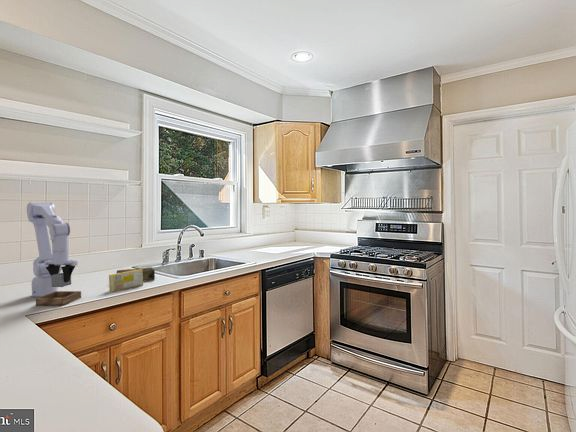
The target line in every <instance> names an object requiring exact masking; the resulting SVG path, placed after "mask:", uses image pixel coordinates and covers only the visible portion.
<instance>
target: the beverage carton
mask: <svg viewBox="0 0 576 432" xmlns="http://www.w3.org/2000/svg"><path fill="white" fill-rule="evenodd" d="M140 269H142V270H143V282H147V281H155V279H156V275H155V272H156V270H155V269H154V267H152V266H151V267H146V268H145V267H144V268H143V267H142V268H130V269H129V268H128V269H127V268H126V269H117V270H116V273H115V274H117V273H123V272H128V271H134V270H140Z"/></svg>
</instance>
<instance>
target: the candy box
mask: <svg viewBox="0 0 576 432" xmlns="http://www.w3.org/2000/svg"><path fill="white" fill-rule="evenodd" d="M139 269H140V270H134V271H128V272H123V273H117V272H116V273H117V274H116V273H111V274H108V284H109V287H108V288H109V292H115V291H120V290H127V289H131V288H135V287H139V286H143V285H144V281H143V270H142V269H141V268H139Z"/></svg>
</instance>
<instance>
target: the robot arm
mask: <svg viewBox="0 0 576 432" xmlns="http://www.w3.org/2000/svg"><path fill="white" fill-rule="evenodd" d="M55 209H56V206H55V204H54V203H53V202H28V203H27V204H26V217H27V220H28V222H30V223H32V224H33V227H34V233H35V237H36V244H37V249H38V255H39V256H38V257H36V258H35V259H34V260H33V261H32V265H33V266H32V267H33V269H32V271H33V275H34V277H33V278H32V281H31V295H30V297H36V298H39V297H42V296H44V295H47V294H50V293H52V292H55V291H59V289H58V288H59V287H52V282H51V275H55V274H59V273H63V275H64V282H69V281H70V277H71V278H72V273H73V272H74V270H75V268H76V266H78V260H71V259H70V258H69V236H70V233H71V227H70V224H69V223H68V222H64V221H63V220H62V219H61V217H60V216H59V215H57V214H55V212H56V210H55ZM50 241H51V242H50Z"/></svg>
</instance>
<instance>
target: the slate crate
mask: <svg viewBox="0 0 576 432" xmlns="http://www.w3.org/2000/svg"><path fill="white" fill-rule="evenodd" d="M51 282H52V287H58V288H64V287H67V286H71V285H72V276H71V277H70V281H69V282H64V275H63V272H60V273H59V274H55V275H51Z"/></svg>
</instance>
